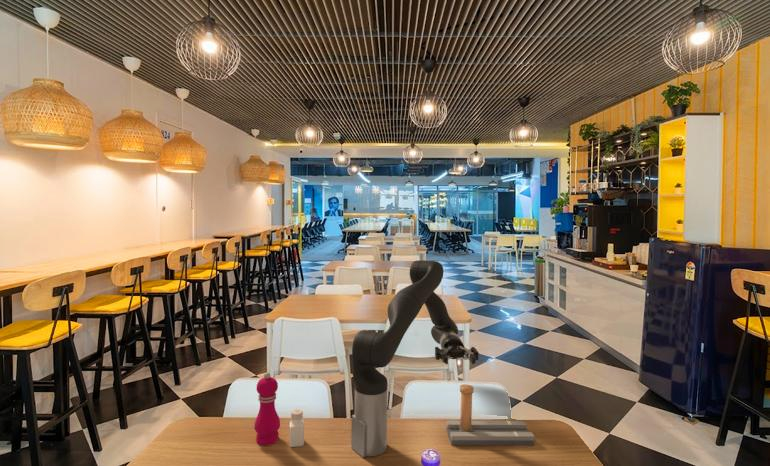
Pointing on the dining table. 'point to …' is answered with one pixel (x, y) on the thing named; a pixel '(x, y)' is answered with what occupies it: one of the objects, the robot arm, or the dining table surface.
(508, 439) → the grey stand base
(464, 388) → the wooden peg
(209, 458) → the dining table surface
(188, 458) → the dining table surface
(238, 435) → the dining table surface
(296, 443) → the pepper shaker
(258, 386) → the pepper mill
